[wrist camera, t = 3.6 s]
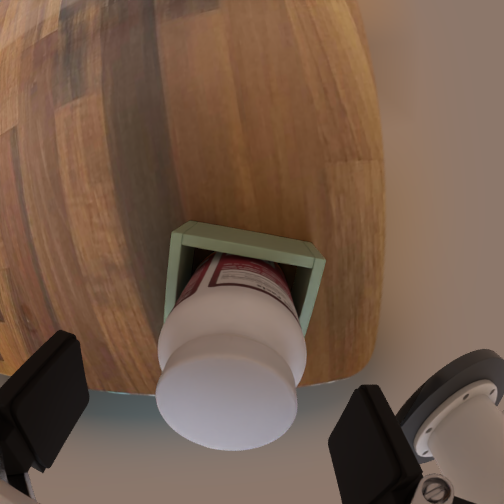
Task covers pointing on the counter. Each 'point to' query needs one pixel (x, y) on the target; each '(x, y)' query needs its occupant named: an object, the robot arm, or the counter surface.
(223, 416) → the pill bottle
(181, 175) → the counter surface
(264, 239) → the green open box
